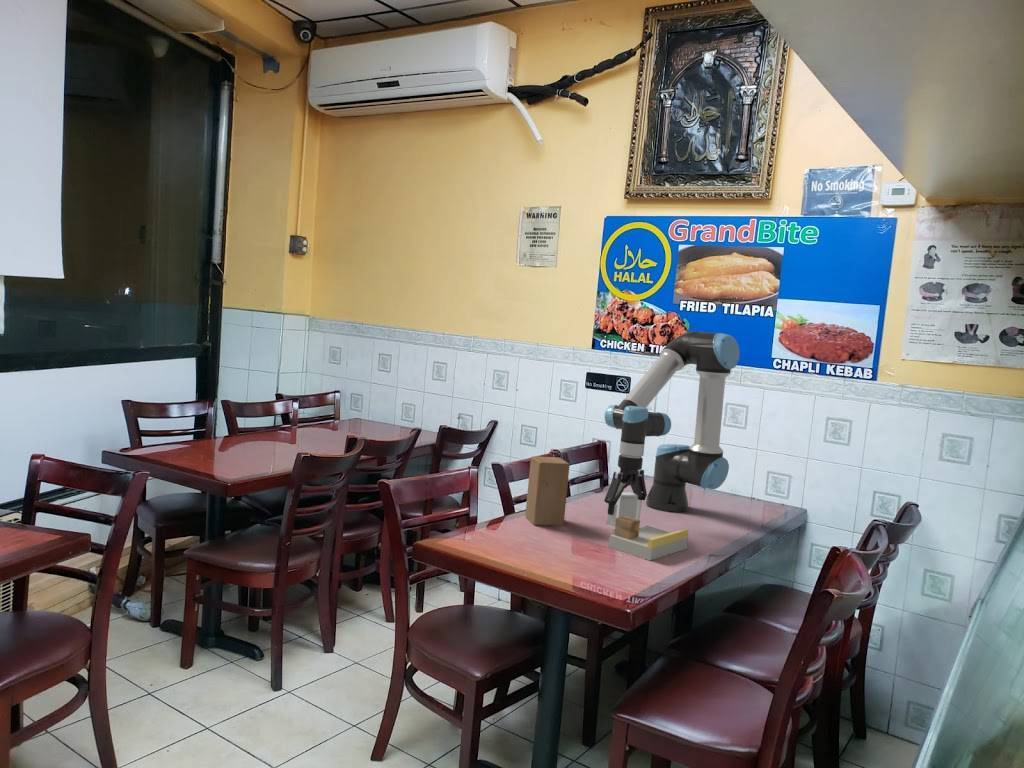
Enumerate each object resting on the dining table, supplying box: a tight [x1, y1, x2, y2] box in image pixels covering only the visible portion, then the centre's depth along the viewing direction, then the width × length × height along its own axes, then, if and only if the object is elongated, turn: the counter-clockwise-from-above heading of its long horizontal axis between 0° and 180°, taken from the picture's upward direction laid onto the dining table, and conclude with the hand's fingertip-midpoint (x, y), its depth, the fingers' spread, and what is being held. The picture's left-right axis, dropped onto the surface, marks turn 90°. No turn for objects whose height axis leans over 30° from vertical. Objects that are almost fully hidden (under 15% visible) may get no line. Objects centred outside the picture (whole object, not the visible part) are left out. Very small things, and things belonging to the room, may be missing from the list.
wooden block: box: [524, 455, 570, 527], centre depth 240 cm, size 10×10×20 cm
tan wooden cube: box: [614, 516, 641, 539], centre depth 220 cm, size 5×5×5 cm
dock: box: [608, 525, 689, 561], centre depth 222 cm, size 20×14×6 cm
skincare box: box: [611, 491, 638, 531], centre depth 238 cm, size 6×4×12 cm
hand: (623, 522), depth 238 cm, fingers open, 13 cm apart
